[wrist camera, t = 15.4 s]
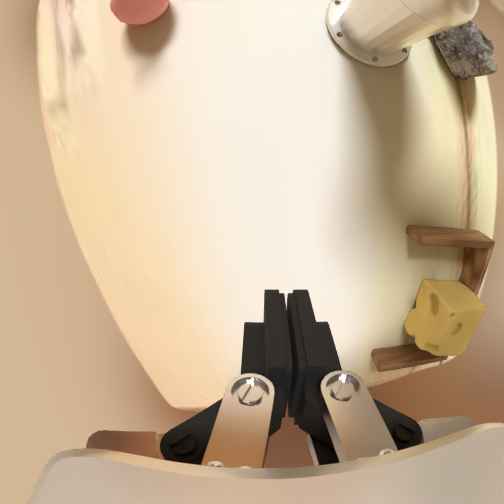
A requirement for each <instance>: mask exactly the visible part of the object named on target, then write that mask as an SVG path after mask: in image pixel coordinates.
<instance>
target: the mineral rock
mask: <svg viewBox="0 0 504 504" xmlns="http://www.w3.org/2000/svg"><path fill="white" fill-rule="evenodd" d="M434 38H435V40H436V45H437V46H438V47H439V49H440V51H441V54H442V56H443V58H444V59H445V61H446V62H447V65H448V66H449V68H450V70H451V72H452V73H453V74H454V75H455V77H456V78H459V79H464V80H466V79H468V78H473V77H477V76H484V75H489V74H492V73H494V72H496V71H497V64H496V62H495V59H494V57H493V49H494V47H493V44H492V42H491V40H490V39H489V37H488V36H487V35H486V34H485V33H484V32H483V30H482V29H481V28H479V27H478V26H477V25H476V24H474V23H473V22H472V21H471V20H470V21H468V22H467V23H465V24H463V25H460V26H457V27H455V28H452V29H449V30H446V31H444V32H441V33H438V34H436V35H434Z"/></svg>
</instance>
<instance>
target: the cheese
mask: <svg viewBox="0 0 504 504" xmlns="http://www.w3.org/2000/svg"><path fill="white" fill-rule="evenodd" d="M484 311H485V308H484V306H483V304H482V303H481V301H480V299H479V298H478V297H477V296H476V295H475V294H474V293H473V292H472V291H471V290H470V289H469V288H468V287H467V286H466V285H464V284H462V283H461V282H459V281H438V280H427V279H424V280H423V281H422V284H421V287H420V289H419V292H418V295H417V297H416V307H415V308H413V309H411V310H410V312H409V314H408V316H407V318H406V320H405V322H404V327H405V329H406V331H407V333H408V334H409V335H411V336H413V337H415V343H416V345H417V346H418V347H419V348H420V349H421V350H426V351H428V352H430V353H432V354H433V355H436V356H455V355H459V354H462V353H463V351H464V350H465V348H466V346H467V344H468V342H469V340H470V338H471V336H472V334H473V332H474V330H475V328H476V326H477V324H478V323H479V321H480V319H481V317H482V315H483V313H484Z"/></svg>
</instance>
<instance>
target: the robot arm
mask: <svg viewBox="0 0 504 504" xmlns="http://www.w3.org/2000/svg"><path fill="white" fill-rule="evenodd" d="M489 1H490V2H491V3H492V4H493V5H494V6H495V7H496V8H497V9H498V10H499V11H500V12H501V13H502V15H503V16H504V0H489ZM336 4H337V5H336ZM478 5H479V0H332V1H331V2H330V4H329V6H328V8H327V11H326V23H327V27H328V30H329V32H330V34H331V36H332V37H333V39H334V40H335V42H336V43H337V44H338V45H339V46H340V47H341V48H342V49H343V50H344V51H345V52H346V53H348V54H349V55H350V56H352V57H353V58H355V59H357V60H358V61H361V62H363V63H366V64H369V65H373V66H380V67H384V66H391V65H394V64H397V63H399V62H401V61H402V60H404V59H405V58H406V57H407V55H408V54H409V52H410V49H411V45H412V44H414V43H416V42H419V41H421V40H424V39H426V38H428V37H431V36H433V35H436V34H438V33H441V32H444V31H446V30H449V29H452V28H455V27H457V26H460V25H463V24H465V23H467V22H468V21H470V20H471V19H472V18H473V17H474V15H475V13H476V12H477V9H478ZM337 35H339V36H340V37H338V36H337ZM372 59H373V60H374V61H373V60H372ZM287 402H288V415H289V417H294V424H295V425H299V428H300V429H302V430H303V431H305V432H306V438H307V442H308V445H309V448H310V452H311V455H312V458H313V462H314V465H315V466H309V467H297V468H271V469H270V468H269V469H264V466H265V461H266V455H267V450H268V444H269V439H270V436H271V435H272V434H274V433H275V432H276V431H277V430H279V429H280V427H281V421H282V418H283V417H285V412H286V407H287ZM28 504H504V423H485V424H480V425H476V426H475V424H474V422H473V421H472V420H471V419H470V418H468V417H466V416H457V417H448V418H435V419H422V420H421V421H420V422H416V421H415V420H413V419H412V418H410V417H408V416H406V415H404V414H402V413H400V412H398V411H396V410H394V409H392V408H390V407H388V406H386V405H384V404H383V403H381V402H379V401H377V400H375V399H373V398H372V397H371V395H370V393H369V391H368V389H367V387H366V385H365V383H364V382H363V380H362V379H361V378H360V377H359V376H358V375H356V374H354V373H352V372H349V371H343V370H342V369H341V365H340V361H339V358H338V354H337V351H336V347H335V344H334V341H333V337H332V334H331V330H330V327H329V324H328V322H316V320H315V316H314V312H313V308H312V304H311V300H310V297H309V293H308V290H293V293H288V298H287V310H286V304H285V296H284V293H279V290H265V294H264V323H255V322H245V324H244V337H243V351H242V365H241V375H239V376H237V377H235V378H233V379H232V380H231V381H230V382H229V384H228V385H227V387H226V390H225V393H224V397H223V398H222V399H221V400H219V401H217V402H216V403H214V404H213V405H211V406H210V407H208V408H206V409H205V410H203V411H202V412H200V413H198V414H197V415H195V416H193V417H192V418H190V419H188V420H187V421H185V422H183V423H181V424H180V425H178V426H176V427H175V428H173V429H171V430H170V431H168V432H167V433H164V434H157V433H156V432H154V431H153V432H152V431H150V432H149V431H147V432H146V431H138V432H137V431H133V432H132V431H108V430H103V431H97V432H95V433H93V434H92V435H91V436H90V437H89V439H88V442H87V445H86V448H82V449H72V450H66V451H62V452H60V453H58V454H56V455H55V456H53V457H52V458H51V459H50V460H49V461H48V463H47V464H46V465H45V467H44V469H43V470H42V472H41V474H40V476H39V478H38V480H37V482H36V484H35V486H34V489H33V492H32V494H31V497H30V500H29V503H28Z"/></svg>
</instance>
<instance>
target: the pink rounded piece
mask: <svg viewBox="0 0 504 504" xmlns="http://www.w3.org/2000/svg"><path fill="white" fill-rule="evenodd" d="M168 4H169V0H111V2H110V7H111V11H112V12H113V13H114V15H115V16H116V17H117V18H118V19H119V20H120V21H121V22H123V23H127V24H135V25H139V24H146V23H149V22H152V21H153V20H155V19H157V18H158V17H159V16H161V15H162V14H163V13H164V12H165V10H166V8H167V7H168Z"/></svg>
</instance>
